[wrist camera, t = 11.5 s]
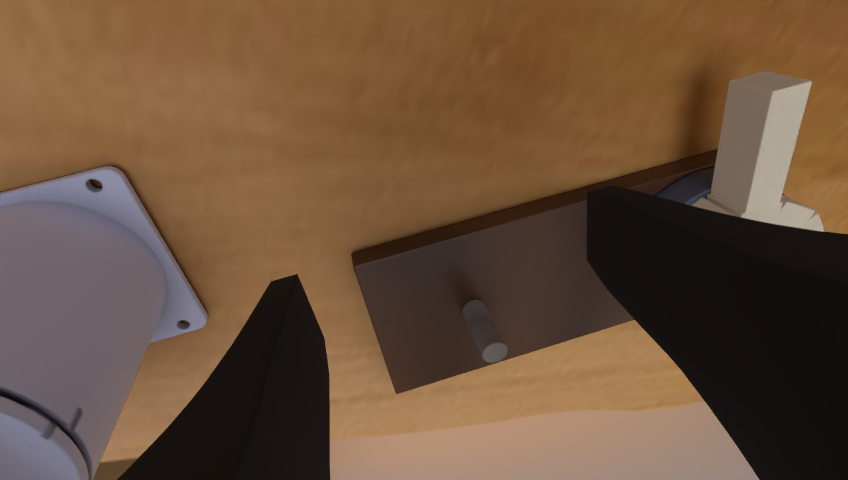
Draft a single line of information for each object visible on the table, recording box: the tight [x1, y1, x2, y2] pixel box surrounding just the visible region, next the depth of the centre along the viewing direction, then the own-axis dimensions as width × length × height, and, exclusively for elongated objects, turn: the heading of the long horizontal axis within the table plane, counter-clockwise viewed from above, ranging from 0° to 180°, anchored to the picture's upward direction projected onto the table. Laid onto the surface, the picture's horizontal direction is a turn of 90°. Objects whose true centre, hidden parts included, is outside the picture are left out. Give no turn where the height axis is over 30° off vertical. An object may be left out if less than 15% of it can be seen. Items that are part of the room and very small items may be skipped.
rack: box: [351, 150, 785, 394], centre depth 22 cm, size 22×9×6 cm, turn 101°
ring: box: [691, 71, 825, 232], centre depth 21 cm, size 8×13×2 cm, turn 11°
